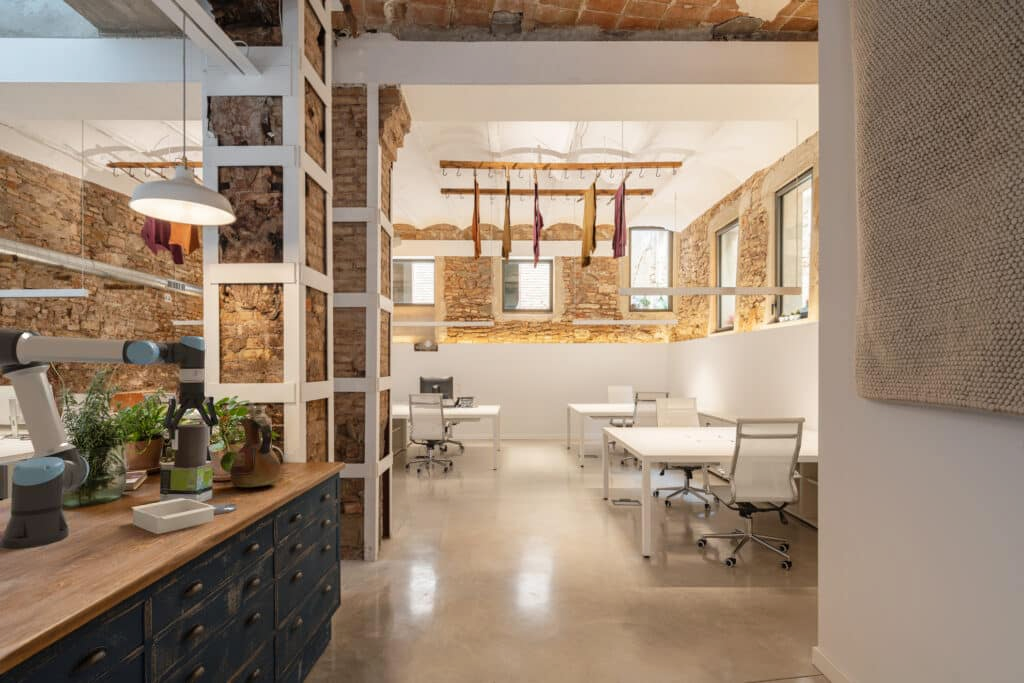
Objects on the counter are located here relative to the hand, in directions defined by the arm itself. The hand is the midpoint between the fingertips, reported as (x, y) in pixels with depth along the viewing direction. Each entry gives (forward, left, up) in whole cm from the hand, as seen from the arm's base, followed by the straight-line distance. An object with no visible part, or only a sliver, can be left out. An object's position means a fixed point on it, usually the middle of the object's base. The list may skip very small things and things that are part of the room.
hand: (191, 447), depth 189 cm
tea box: (+12, +26, -24) cm, 38 cm away
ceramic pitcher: (+41, +27, -24) cm, 55 cm away
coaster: (+12, +3, -24) cm, 27 cm away
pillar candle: (0, 0, -6) cm, 6 cm away
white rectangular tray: (-5, -1, -24) cm, 25 cm away
